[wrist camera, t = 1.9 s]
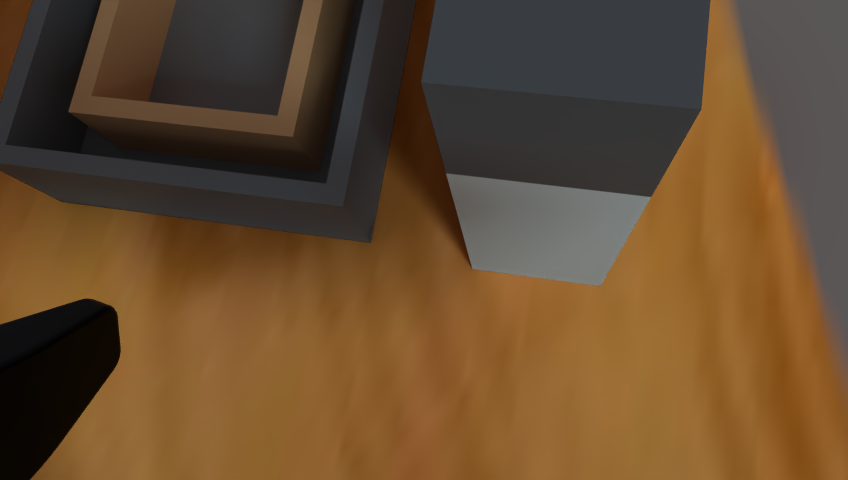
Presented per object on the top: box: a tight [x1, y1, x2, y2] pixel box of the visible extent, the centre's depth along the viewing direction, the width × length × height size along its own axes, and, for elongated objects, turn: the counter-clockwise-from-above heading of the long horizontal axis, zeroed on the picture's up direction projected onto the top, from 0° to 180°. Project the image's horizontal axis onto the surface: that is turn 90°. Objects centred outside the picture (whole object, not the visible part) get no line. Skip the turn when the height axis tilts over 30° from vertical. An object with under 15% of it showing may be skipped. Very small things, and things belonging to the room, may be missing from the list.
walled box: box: [0, 0, 416, 243], centre depth 24 cm, size 11×11×4 cm
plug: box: [421, 0, 710, 286], centre depth 17 cm, size 4×4×13 cm
